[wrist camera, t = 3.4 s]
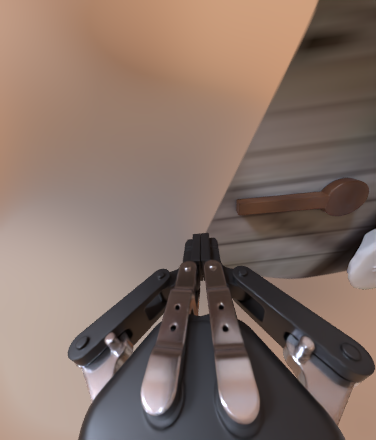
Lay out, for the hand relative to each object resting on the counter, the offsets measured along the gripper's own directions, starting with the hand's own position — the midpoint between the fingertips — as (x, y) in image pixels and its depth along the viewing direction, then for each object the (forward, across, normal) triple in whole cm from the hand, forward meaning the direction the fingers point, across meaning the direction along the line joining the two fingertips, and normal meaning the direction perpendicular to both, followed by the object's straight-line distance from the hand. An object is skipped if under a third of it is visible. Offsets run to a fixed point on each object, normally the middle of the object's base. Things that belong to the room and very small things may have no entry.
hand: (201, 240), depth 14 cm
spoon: (+7, -13, 0) cm, 14 cm away
